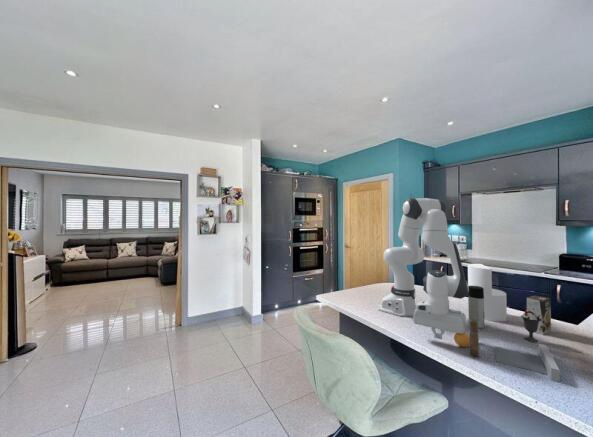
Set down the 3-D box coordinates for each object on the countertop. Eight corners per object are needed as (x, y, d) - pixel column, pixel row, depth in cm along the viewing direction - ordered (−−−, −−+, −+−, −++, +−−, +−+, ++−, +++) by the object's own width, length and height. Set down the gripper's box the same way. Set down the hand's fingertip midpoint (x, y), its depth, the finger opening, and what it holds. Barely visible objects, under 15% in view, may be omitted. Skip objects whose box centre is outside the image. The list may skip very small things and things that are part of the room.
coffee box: (544, 335, 116) (543, 301, 116) (526, 330, 122) (525, 297, 122) (551, 331, 121) (551, 298, 121) (534, 326, 126) (534, 294, 126)
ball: (464, 333, 104) (475, 346, 103) (462, 327, 110) (473, 339, 108) (451, 339, 107) (462, 352, 105) (450, 333, 112) (460, 345, 110)
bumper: (551, 379, 85) (551, 368, 85) (538, 353, 101) (538, 343, 101) (559, 381, 83) (559, 370, 83) (545, 355, 100) (545, 345, 100)
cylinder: (473, 318, 136) (472, 268, 137) (465, 308, 152) (464, 263, 153) (512, 323, 130) (511, 270, 130) (499, 311, 146) (498, 264, 146)
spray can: (487, 328, 124) (486, 289, 124) (472, 327, 125) (471, 288, 125) (480, 323, 130) (479, 285, 131) (466, 322, 132) (465, 285, 132)
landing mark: (496, 361, 96) (496, 361, 96) (494, 346, 107) (494, 346, 107) (547, 374, 87) (547, 374, 87) (538, 356, 99) (538, 356, 99)
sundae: (517, 337, 115) (516, 304, 115) (530, 336, 116) (529, 304, 116) (531, 344, 109) (531, 310, 109) (545, 343, 109) (545, 309, 109)
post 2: (469, 356, 99) (469, 334, 99) (469, 353, 102) (469, 331, 102) (478, 358, 98) (478, 336, 98) (478, 355, 100) (478, 333, 100)
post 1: (470, 342, 110) (469, 322, 110) (470, 339, 113) (469, 320, 113) (478, 344, 109) (478, 324, 109) (478, 341, 111) (477, 321, 111)
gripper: (465, 309, 108) (466, 341, 108) (414, 301, 120) (415, 329, 120) (465, 314, 103) (465, 347, 103) (412, 305, 115) (412, 334, 115)
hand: (438, 337), depth 112 cm, fingers closed
